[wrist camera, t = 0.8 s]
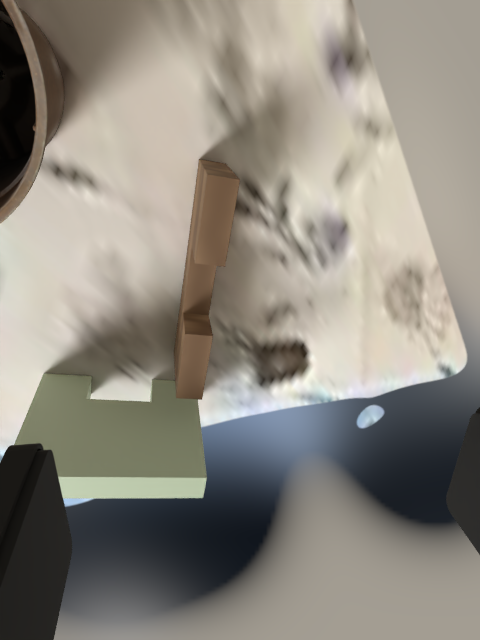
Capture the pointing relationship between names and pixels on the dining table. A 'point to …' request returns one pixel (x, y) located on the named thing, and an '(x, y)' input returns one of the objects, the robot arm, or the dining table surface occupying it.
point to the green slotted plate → (118, 440)
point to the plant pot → (25, 104)
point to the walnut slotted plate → (203, 273)
